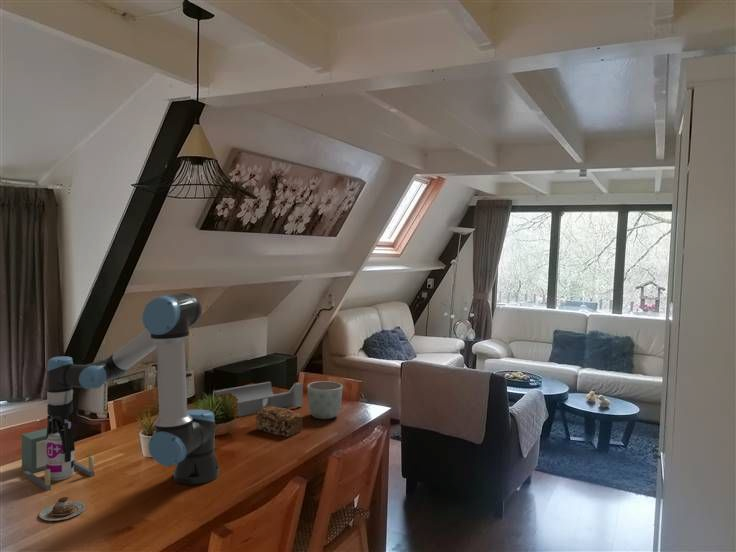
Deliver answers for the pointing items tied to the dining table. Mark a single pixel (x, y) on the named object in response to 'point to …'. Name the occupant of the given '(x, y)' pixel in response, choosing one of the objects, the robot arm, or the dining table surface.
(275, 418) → the bread
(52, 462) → the supplement can
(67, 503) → the pastry
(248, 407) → the grey channel bracket
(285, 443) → the dining table surface
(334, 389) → the planter
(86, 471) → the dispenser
